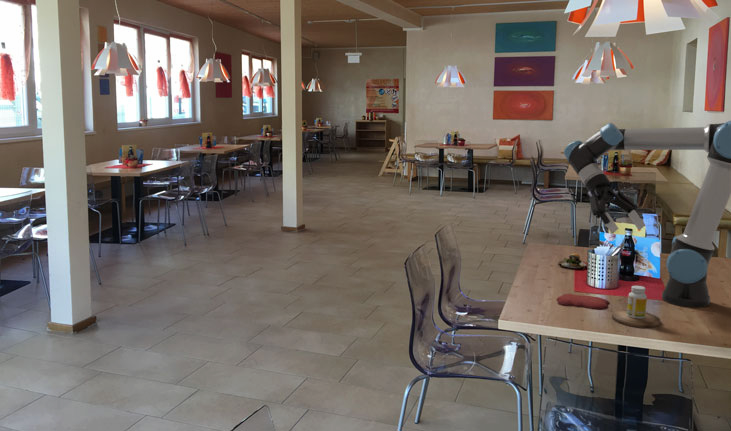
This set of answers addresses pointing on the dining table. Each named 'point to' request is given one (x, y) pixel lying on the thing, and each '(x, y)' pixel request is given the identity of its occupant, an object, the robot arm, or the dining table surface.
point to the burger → (573, 262)
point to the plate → (645, 322)
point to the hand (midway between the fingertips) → (628, 229)
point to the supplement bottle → (637, 302)
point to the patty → (583, 301)
